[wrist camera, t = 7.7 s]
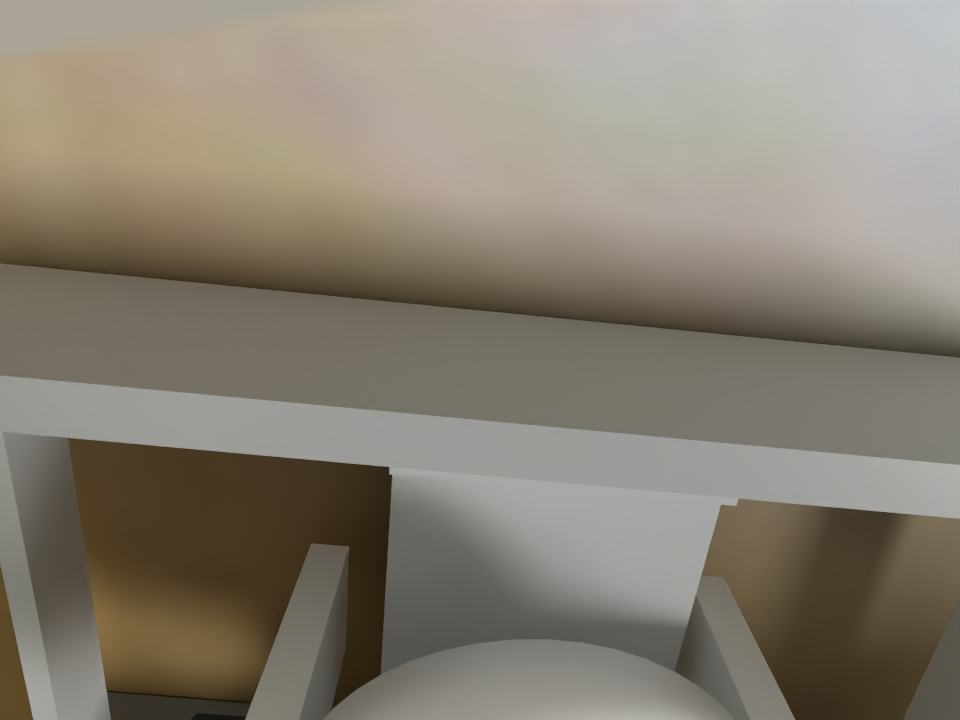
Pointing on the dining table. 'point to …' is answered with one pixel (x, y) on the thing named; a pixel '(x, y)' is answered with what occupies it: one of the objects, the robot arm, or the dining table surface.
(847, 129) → the dining table surface
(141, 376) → the tray
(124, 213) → the dining table surface
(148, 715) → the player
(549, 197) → the dining table surface
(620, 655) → the disc
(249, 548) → the dining table surface
